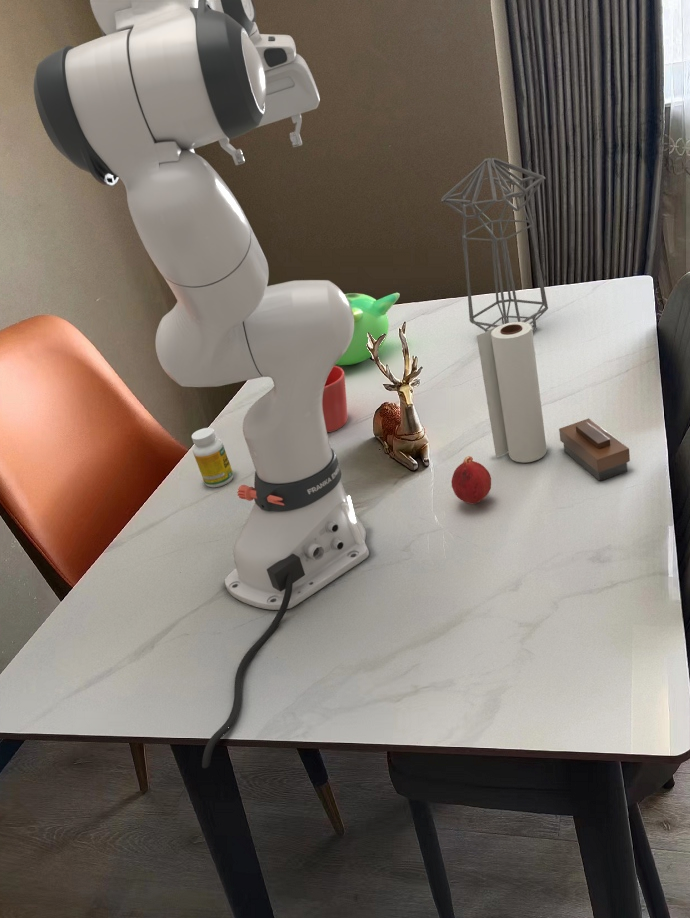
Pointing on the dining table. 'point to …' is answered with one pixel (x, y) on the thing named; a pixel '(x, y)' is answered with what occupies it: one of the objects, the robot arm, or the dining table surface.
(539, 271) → the geometric lantern
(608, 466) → the chalkboard eraser
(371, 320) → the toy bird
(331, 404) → the flower pot
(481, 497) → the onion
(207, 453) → the supplement bottle
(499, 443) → the paper towel roll
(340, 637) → the dining table surface
